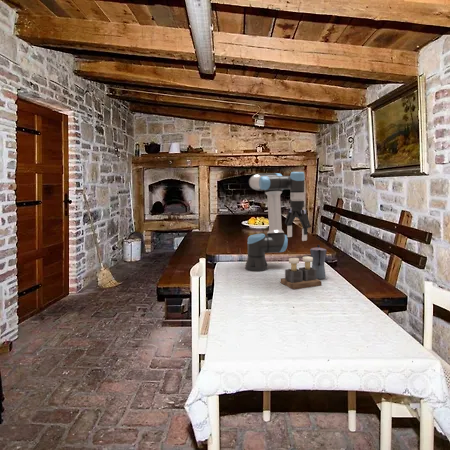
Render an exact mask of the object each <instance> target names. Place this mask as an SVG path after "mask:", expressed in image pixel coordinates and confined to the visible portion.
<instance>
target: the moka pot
mask: <svg viewBox="0 0 450 450" xmlns="http://www.w3.org/2000/svg"><path fill="white" fill-rule="evenodd" d="M320 246H321V245H320V244H317V247H311V248H310V249H309V251H310V257H313V261H312V262H311V268H314V269H316V279H318V280H323V279H325V278H327V277H326V268H325V262H326V258H327V249H326V248H323V247H320Z"/></svg>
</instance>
